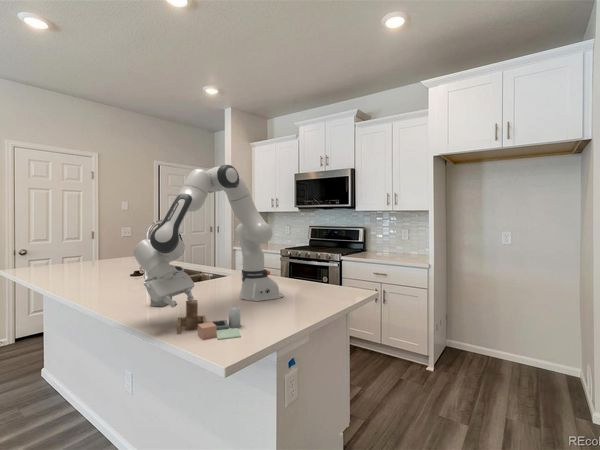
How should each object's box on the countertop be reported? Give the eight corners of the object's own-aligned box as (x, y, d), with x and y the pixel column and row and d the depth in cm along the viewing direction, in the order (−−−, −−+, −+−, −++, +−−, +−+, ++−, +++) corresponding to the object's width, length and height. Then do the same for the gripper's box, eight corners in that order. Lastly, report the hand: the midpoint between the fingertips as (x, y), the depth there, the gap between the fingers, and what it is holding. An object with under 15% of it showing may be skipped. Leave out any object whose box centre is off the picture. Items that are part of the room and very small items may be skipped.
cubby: (204, 322, 130) (204, 314, 130) (206, 330, 120) (206, 322, 120) (178, 325, 126) (177, 317, 126) (177, 334, 117) (177, 325, 117)
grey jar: (239, 323, 129) (239, 306, 128) (241, 327, 124) (241, 309, 124) (228, 324, 127) (228, 307, 127) (229, 328, 123) (229, 310, 123)
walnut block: (197, 325, 126) (197, 299, 126) (197, 329, 122) (197, 302, 122) (186, 326, 125) (186, 300, 124) (186, 330, 121) (186, 303, 121)
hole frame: (226, 323, 128) (226, 319, 128) (228, 330, 121) (228, 326, 121) (206, 325, 126) (206, 321, 126) (207, 332, 119) (207, 328, 119)
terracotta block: (211, 332, 119) (211, 321, 119) (216, 337, 115) (216, 325, 115) (197, 335, 116) (197, 324, 116) (202, 340, 112) (202, 328, 112)
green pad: (237, 329, 122) (237, 328, 122) (241, 337, 115) (241, 335, 115) (215, 331, 120) (215, 330, 119) (217, 339, 112) (217, 338, 112)
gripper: (146, 274, 117) (168, 304, 114) (184, 266, 136) (204, 291, 133) (136, 286, 118) (158, 316, 115) (176, 276, 138) (195, 301, 135)
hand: (183, 302), depth 124 cm, fingers open, 8 cm apart
